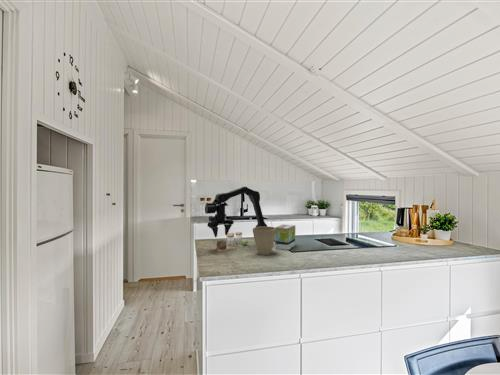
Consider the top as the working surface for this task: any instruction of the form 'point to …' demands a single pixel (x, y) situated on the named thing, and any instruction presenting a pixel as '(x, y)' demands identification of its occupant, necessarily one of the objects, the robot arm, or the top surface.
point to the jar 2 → (238, 237)
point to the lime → (244, 241)
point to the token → (221, 245)
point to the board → (224, 249)
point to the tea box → (285, 237)
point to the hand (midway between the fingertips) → (221, 236)
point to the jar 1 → (230, 240)
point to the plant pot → (264, 239)
